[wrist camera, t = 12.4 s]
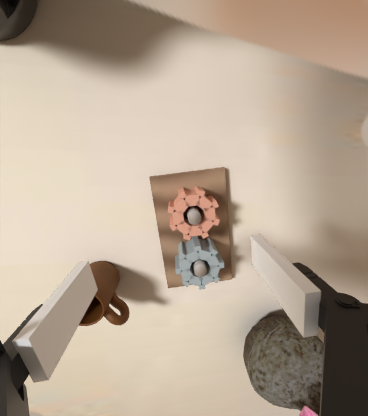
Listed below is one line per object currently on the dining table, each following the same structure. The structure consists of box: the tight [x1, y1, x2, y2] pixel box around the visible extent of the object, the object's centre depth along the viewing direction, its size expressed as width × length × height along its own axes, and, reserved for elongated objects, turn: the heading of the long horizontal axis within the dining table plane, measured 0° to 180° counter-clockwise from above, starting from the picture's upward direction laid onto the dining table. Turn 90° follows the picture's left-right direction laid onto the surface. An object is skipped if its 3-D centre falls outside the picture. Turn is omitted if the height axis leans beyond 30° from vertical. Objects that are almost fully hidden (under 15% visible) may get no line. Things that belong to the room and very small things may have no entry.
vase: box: [243, 316, 324, 416], centre depth 33 cm, size 17×18×30 cm
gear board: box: [149, 167, 232, 288], centre depth 36 cm, size 24×14×7 cm, turn 7°
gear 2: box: [175, 236, 224, 290], centre depth 37 cm, size 9×9×5 cm
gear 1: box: [168, 186, 220, 240], centre depth 35 cm, size 9×9×5 cm
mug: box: [79, 261, 129, 326], centre depth 37 cm, size 12×8×9 cm, turn 55°
